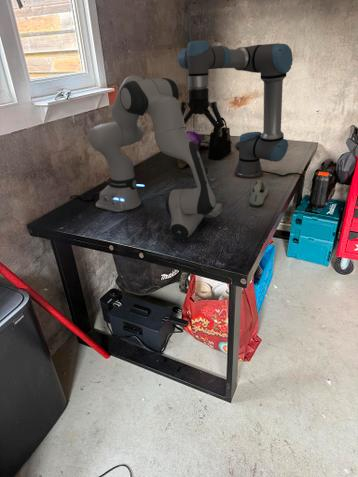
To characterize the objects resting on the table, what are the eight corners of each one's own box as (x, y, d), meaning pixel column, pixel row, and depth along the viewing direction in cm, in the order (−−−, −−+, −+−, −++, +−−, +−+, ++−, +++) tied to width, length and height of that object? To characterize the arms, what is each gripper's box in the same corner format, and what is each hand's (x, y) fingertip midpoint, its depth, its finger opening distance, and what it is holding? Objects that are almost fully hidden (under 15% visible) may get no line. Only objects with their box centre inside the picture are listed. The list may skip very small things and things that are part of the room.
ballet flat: (269, 188, 169) (270, 173, 165) (265, 208, 149) (266, 191, 145) (252, 187, 171) (253, 172, 167) (246, 206, 151) (247, 190, 147)
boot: (194, 157, 223) (193, 127, 213) (188, 169, 203) (187, 135, 193) (182, 157, 225) (180, 127, 215) (174, 168, 205) (172, 136, 194)
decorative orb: (204, 151, 235) (204, 129, 228) (194, 156, 225) (193, 134, 217) (186, 149, 243) (186, 128, 235) (175, 154, 232) (174, 132, 224)
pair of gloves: (197, 151, 236) (197, 144, 233) (182, 143, 257) (182, 137, 254) (233, 145, 246) (233, 137, 243) (216, 138, 266) (216, 131, 264)
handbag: (219, 160, 214) (219, 120, 202) (206, 159, 218) (206, 119, 206) (232, 152, 229) (233, 114, 216) (220, 151, 233) (220, 114, 221)
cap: (196, 173, 140) (196, 168, 139) (204, 171, 142) (204, 166, 140) (201, 176, 137) (201, 171, 136) (209, 174, 139) (209, 169, 137)
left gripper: (217, 209, 129) (226, 195, 140) (169, 204, 135) (181, 191, 147) (217, 223, 132) (225, 209, 143) (170, 217, 139) (181, 204, 150)
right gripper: (233, 86, 123) (231, 144, 133) (173, 87, 132) (175, 140, 143) (227, 89, 117) (225, 148, 127) (164, 89, 127) (168, 144, 137)
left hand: (202, 200), depth 145 cm, fingers open, 8 cm apart
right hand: (199, 144), depth 135 cm, fingers open, 13 cm apart
